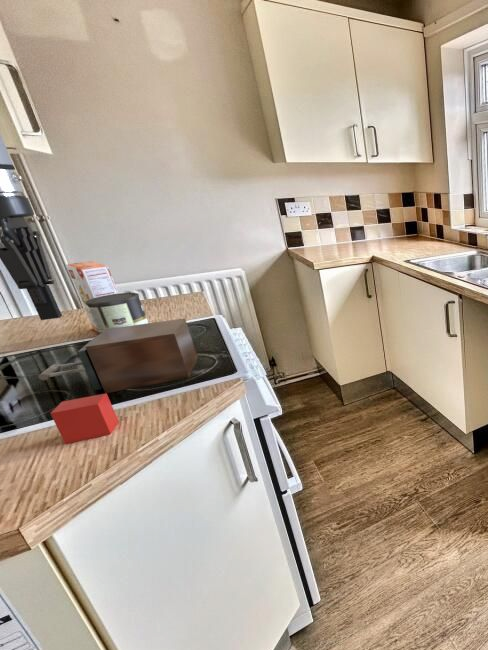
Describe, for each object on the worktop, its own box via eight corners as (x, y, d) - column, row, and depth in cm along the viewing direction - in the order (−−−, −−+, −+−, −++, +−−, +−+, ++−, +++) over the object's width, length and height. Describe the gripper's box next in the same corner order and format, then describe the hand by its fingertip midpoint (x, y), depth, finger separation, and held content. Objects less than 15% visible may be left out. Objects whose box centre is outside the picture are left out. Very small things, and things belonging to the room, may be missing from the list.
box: (65, 444, 71) (50, 413, 69) (75, 431, 75) (61, 401, 73) (110, 434, 74) (97, 404, 71) (119, 422, 77) (106, 393, 75)
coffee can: (143, 339, 120) (125, 291, 114) (164, 344, 115) (146, 294, 110) (98, 352, 111) (76, 300, 106) (119, 358, 107) (97, 304, 102)
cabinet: (105, 393, 88) (85, 346, 84) (123, 371, 99) (106, 329, 95) (189, 377, 94) (174, 333, 91) (198, 358, 105) (185, 318, 101)
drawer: (40, 400, 84) (20, 360, 81) (64, 378, 94) (47, 341, 91) (173, 375, 93) (160, 339, 90) (183, 358, 103) (171, 324, 100)
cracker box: (93, 334, 125) (64, 264, 118) (119, 328, 130) (93, 260, 122) (108, 342, 118) (78, 268, 110) (135, 335, 123) (108, 264, 115)
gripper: (5, 195, 73) (62, 323, 82) (40, 193, 84) (88, 307, 92) (-58, 197, 70) (9, 330, 78) (-13, 195, 81) (41, 313, 89)
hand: (51, 317), depth 85 cm, fingers closed
